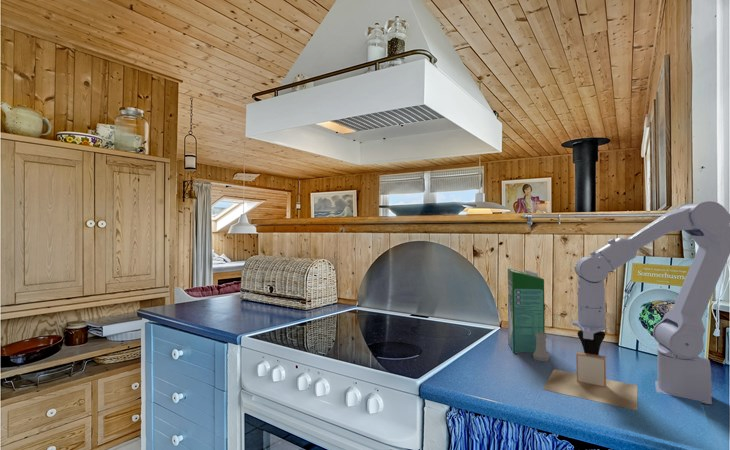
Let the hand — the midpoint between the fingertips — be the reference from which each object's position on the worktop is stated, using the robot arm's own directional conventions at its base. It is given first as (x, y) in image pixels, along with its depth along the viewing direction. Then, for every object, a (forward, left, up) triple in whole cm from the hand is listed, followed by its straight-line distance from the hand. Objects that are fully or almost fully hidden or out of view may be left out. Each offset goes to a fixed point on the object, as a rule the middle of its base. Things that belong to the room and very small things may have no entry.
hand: (591, 361), depth 93 cm
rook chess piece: (+13, -11, -6) cm, 18 cm away
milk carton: (+19, -19, -6) cm, 27 cm away
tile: (0, +1, -5) cm, 5 cm away
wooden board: (0, +4, -5) cm, 7 cm away
